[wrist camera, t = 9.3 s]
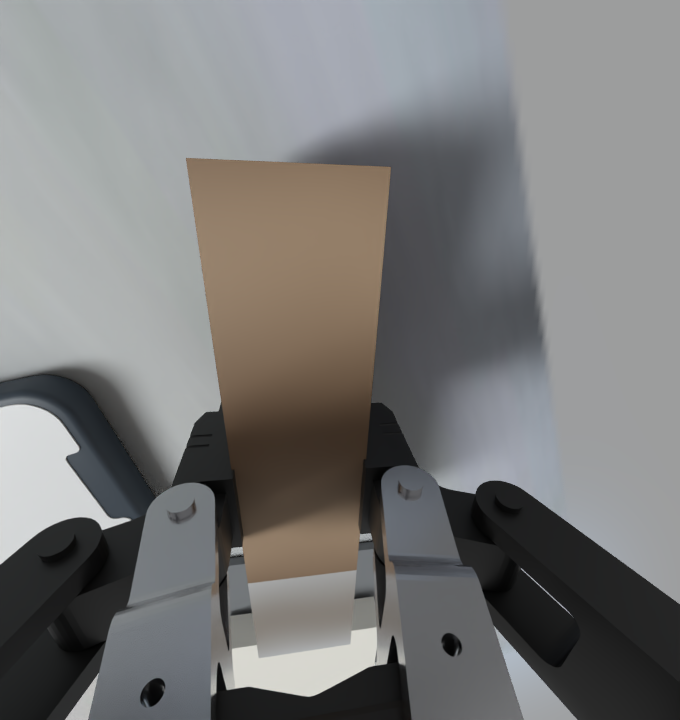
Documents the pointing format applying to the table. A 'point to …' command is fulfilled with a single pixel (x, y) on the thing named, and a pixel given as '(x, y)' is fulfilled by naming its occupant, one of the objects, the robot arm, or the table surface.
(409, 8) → the table surface
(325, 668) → the tile
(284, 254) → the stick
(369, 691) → the robot arm
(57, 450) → the phone case
